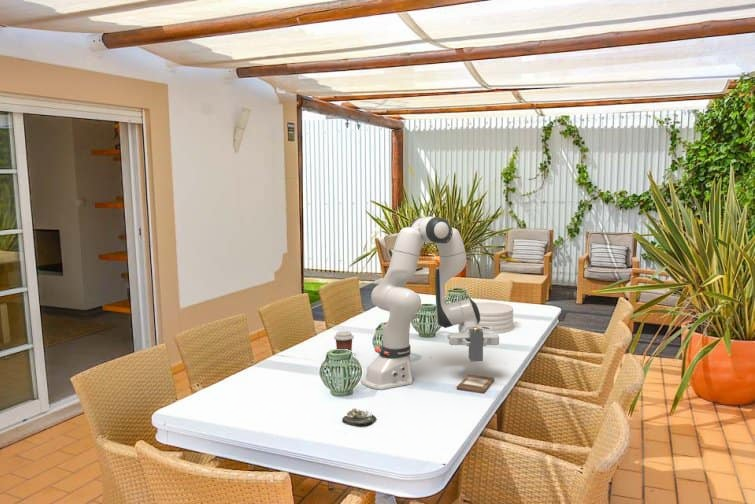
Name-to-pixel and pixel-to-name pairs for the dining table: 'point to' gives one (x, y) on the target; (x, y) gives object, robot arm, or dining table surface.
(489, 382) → the walnut board
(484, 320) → the plate stack
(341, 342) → the coffee cup
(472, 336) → the block
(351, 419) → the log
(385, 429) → the dining table surface
